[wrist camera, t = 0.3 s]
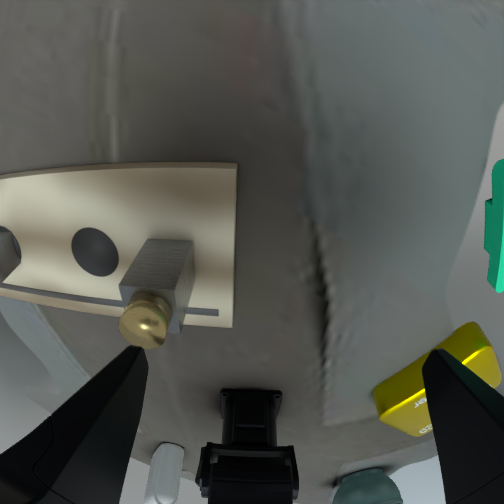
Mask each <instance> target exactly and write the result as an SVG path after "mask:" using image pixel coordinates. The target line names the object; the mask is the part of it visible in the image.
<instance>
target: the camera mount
mask: <svg viewBox="0 0 504 504" xmlns="http://www.w3.org/2000/svg"><path fill="white" fill-rule="evenodd" d="M484 230H485V231H484V249H485V250H486V251H487V252H488V253H489V254H490V260H489V269H488V277H487V280H488V282H489V283H490V284H491V285H492V287H493V288H494V289H495V290H496V291H497V292H498V293H499V292H502V291H504V159H502V160H499V161H498V162H497V163H496V164H495V165H494V167H493V170H492V198H491V199H488V200H486V201H485V229H484Z"/></svg>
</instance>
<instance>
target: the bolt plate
mask: <svg viewBox="0 0 504 504" xmlns="http://www.w3.org/2000/svg"><path fill="white" fill-rule="evenodd" d="M237 169H238V163H223V162H136V163H113V164H96V165H82V166H70V167H59V168H49V169H40V170H32V171H24V172H17V173H10V174H3V175H0V296H5V297H9V298H14V299H18V300H23V301H28V302H32V303H37V304H43V305H48V306H53V307H59V308H64V309H70V310H76V311H82V312H88V313H95V314H102V315H109V316H116V317H121V316H122V314H123V312H124V306H123V302H122V298H121V294H120V290H119V286H118V285H119V283H120V282H121V280H122V278H123V277H124V275H125V273H126V272H127V270H128V268H129V267H130V265H131V263H132V262H133V260H134V259H135V257H136V255H137V254H138V252H139V251H140V249H141V248H142V246H143V245H144V243H145V241H146V240H147V238H148V239H170V240H191V241H193V250H194V267H195V283H194V287H193V290H192V294H191V297H190V301H189V304H188V308H187V312H186V315H185V319H184V323H183V324H188V325H200V326H213V327H228V328H232V324H233V309H234V263H235V227H236V196H237Z"/></svg>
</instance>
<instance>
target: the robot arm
mask: <svg viewBox="0 0 504 504" xmlns="http://www.w3.org/2000/svg"><path fill="white" fill-rule="evenodd" d="M147 376H148V362H147V359H146V355H145V352H144V349H143V347H141V346H135V345H129V346H128V347H126V348H125V349H124V350H123V351H122V352H121V353H120V354H118V355H117V356H116V357H115V358H114V359H113V360H112V361H111V362H109V363H108V364H107V365H106V366H105V367H104V368H103V369H102V370H100V371H99V372H98V373H97V374H96V375H95V376H94V377H93V378H91V379H90V380H89V381H88V382H87V383H86V384H85V385H84V386H82V387H81V388H80V389H79V390H78V391H77V392H76V393H75V394H73V395H72V396H71V397H70V398H69V399H68V400H67V401H66V402H65V403H63V404H62V405H61V406H60V407H59V408H58V409H57V410H56V411H55V412H53V413H52V414H51V416H49V417H48V418H47V419H46V420H44V421H43V423H41V424H40V425H39V426H38V427H36V429H34V430H33V431H32V432H30V433H29V434H28V435H27V436H25V437H24V438H23V439H21V440H20V441H19V442H17V443H16V444H15V445H13V446H12V447H10V448H9V449H7V450H6V451H4V452H3V453H2V454H0V504H119V500H120V497H121V492H122V487H123V483H124V479H125V475H126V471H127V466H128V463H129V458H130V455H131V451H132V447H133V443H134V440H135V436H136V432H137V429H138V425H139V421H140V417H141V413H142V407H143V400H144V394H145V388H146V382H147ZM422 376H423V382H424V388H425V394H426V400H427V406H428V411H429V416H430V420H431V424H432V428H433V433H434V437H435V442H436V446H437V451H438V456H439V461H440V466H441V473H442V479H443V485H444V492H445V500H446V504H504V397H503V396H502V395H501V394H499V393H498V392H497V391H496V390H495V389H494V388H492V387H491V386H490V385H489V384H487V383H486V382H485V381H484V380H483V379H481V378H480V377H479V376H478V375H476V374H475V373H474V372H473V371H471V370H470V369H469V368H468V367H466V366H465V365H464V364H463V363H461V362H460V361H459V360H458V359H456V358H455V357H454V356H452V355H451V354H450V353H449V352H447V351H446V350H445V349H443V348H439V349H433V350H432V351H431V352H430V354H429V355H428V357H427V359H426V361H425V362H424V364H423V366H422ZM220 399H221V415H222V419H224V420H223V432H222V444H215V443H213V442H207V446H206V447H202V448H201V455H200V462H199V466H198V470H197V474H196V479H195V483H196V484H197V485H198V486H199V487H200V491H201V495H202V497H203V498H208V504H293V500H296V499H297V497H298V491H299V476H298V470H297V464H296V458H295V452H294V446H293V445H288V446H277V433H276V419H277V415H278V411H279V407H280V403H281V399H282V393H281V392H275V391H243V390H226V389H224V390H221V392H220ZM214 462H217V463H214Z"/></svg>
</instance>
